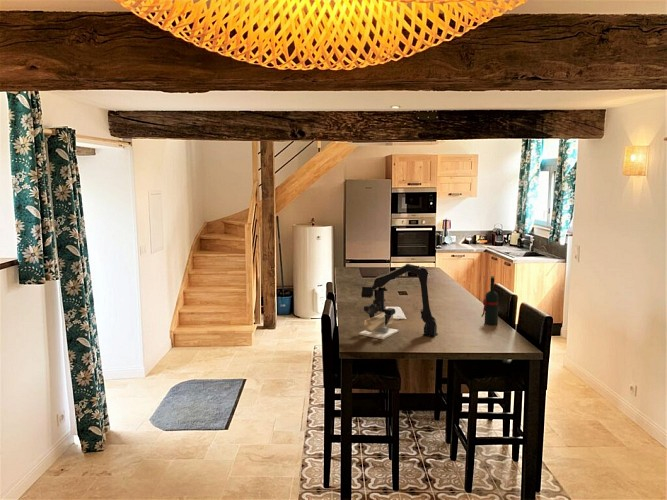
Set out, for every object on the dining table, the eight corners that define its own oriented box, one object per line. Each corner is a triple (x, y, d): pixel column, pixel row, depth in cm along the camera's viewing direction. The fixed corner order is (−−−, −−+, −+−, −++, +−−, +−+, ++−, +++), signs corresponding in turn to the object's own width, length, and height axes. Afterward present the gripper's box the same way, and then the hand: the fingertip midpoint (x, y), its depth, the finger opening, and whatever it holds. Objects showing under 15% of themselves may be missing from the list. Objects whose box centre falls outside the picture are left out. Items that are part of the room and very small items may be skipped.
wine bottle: (478, 322, 320) (480, 275, 316) (494, 321, 322) (495, 274, 317) (484, 325, 312) (485, 277, 308) (499, 325, 314) (501, 277, 310)
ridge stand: (398, 331, 302) (398, 325, 302) (382, 339, 288) (382, 332, 288) (376, 327, 312) (376, 320, 311) (359, 334, 298) (359, 327, 297)
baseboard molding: (402, 308, 359) (385, 308, 359) (402, 304, 358) (385, 304, 358) (409, 320, 328) (390, 320, 328) (409, 316, 328) (390, 316, 328)
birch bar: (393, 322, 307) (393, 312, 307) (371, 332, 289) (371, 321, 288) (386, 321, 310) (386, 311, 309) (364, 330, 291) (364, 320, 290)
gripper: (358, 298, 296) (358, 324, 298) (385, 302, 285) (385, 330, 287) (368, 295, 305) (368, 320, 307) (396, 299, 294) (395, 325, 296)
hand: (379, 324), depth 299 cm, fingers open, 9 cm apart
